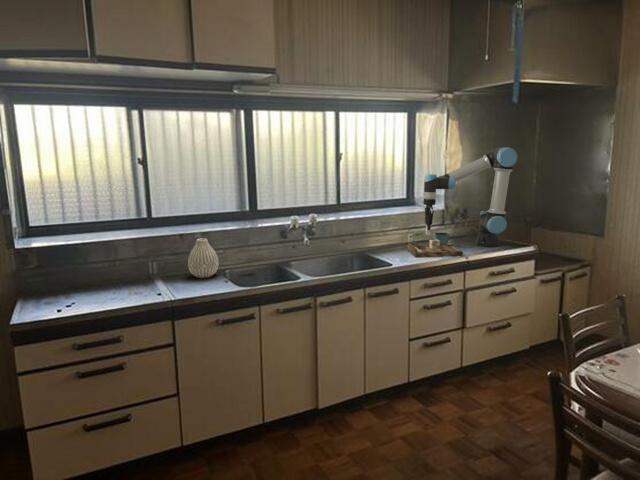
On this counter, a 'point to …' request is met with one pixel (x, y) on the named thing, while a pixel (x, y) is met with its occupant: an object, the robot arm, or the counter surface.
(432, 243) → the block
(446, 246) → the wooden tray
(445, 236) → the flower pot
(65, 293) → the counter surface
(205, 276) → the vase
